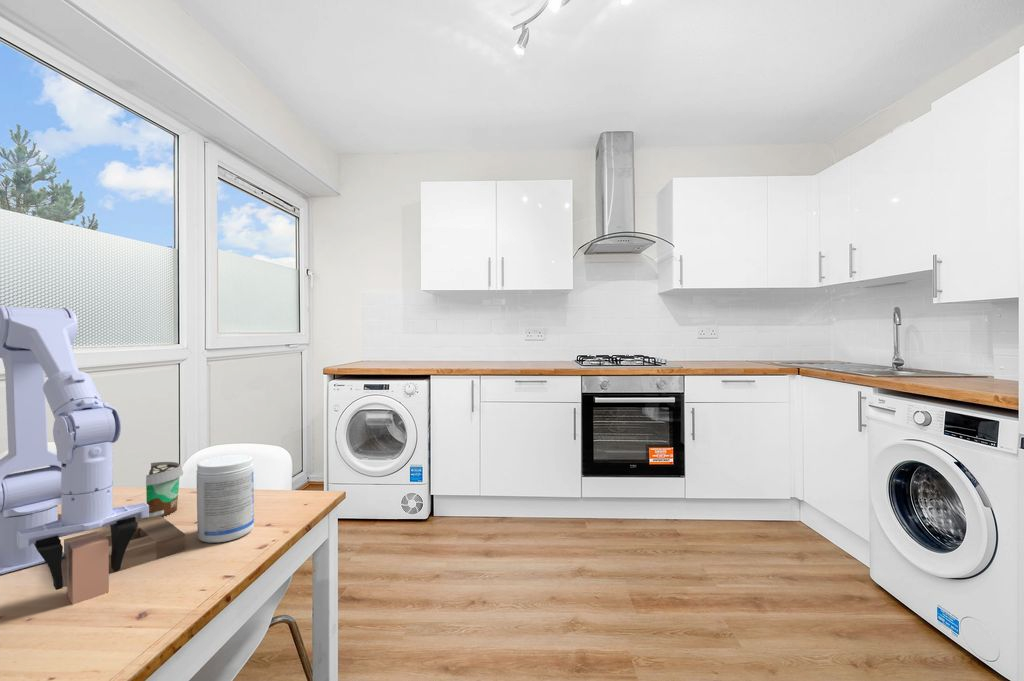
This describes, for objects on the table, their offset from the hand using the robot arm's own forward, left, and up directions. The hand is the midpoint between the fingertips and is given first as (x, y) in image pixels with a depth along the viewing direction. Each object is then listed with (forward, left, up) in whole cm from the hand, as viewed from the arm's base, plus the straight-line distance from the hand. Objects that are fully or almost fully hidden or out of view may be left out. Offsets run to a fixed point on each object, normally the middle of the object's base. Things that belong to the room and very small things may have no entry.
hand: (88, 577), depth 70 cm
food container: (-30, +18, -3) cm, 35 cm away
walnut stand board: (-12, +7, -2) cm, 14 cm away
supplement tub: (-7, +22, -3) cm, 23 cm away
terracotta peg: (0, 0, -2) cm, 2 cm away
